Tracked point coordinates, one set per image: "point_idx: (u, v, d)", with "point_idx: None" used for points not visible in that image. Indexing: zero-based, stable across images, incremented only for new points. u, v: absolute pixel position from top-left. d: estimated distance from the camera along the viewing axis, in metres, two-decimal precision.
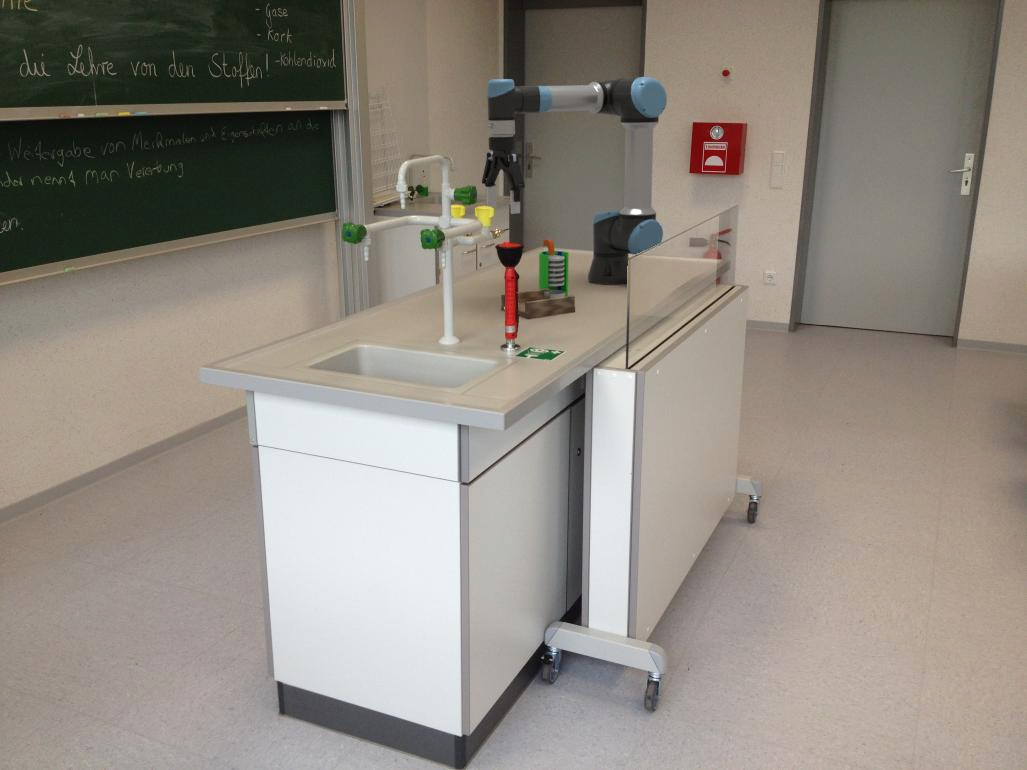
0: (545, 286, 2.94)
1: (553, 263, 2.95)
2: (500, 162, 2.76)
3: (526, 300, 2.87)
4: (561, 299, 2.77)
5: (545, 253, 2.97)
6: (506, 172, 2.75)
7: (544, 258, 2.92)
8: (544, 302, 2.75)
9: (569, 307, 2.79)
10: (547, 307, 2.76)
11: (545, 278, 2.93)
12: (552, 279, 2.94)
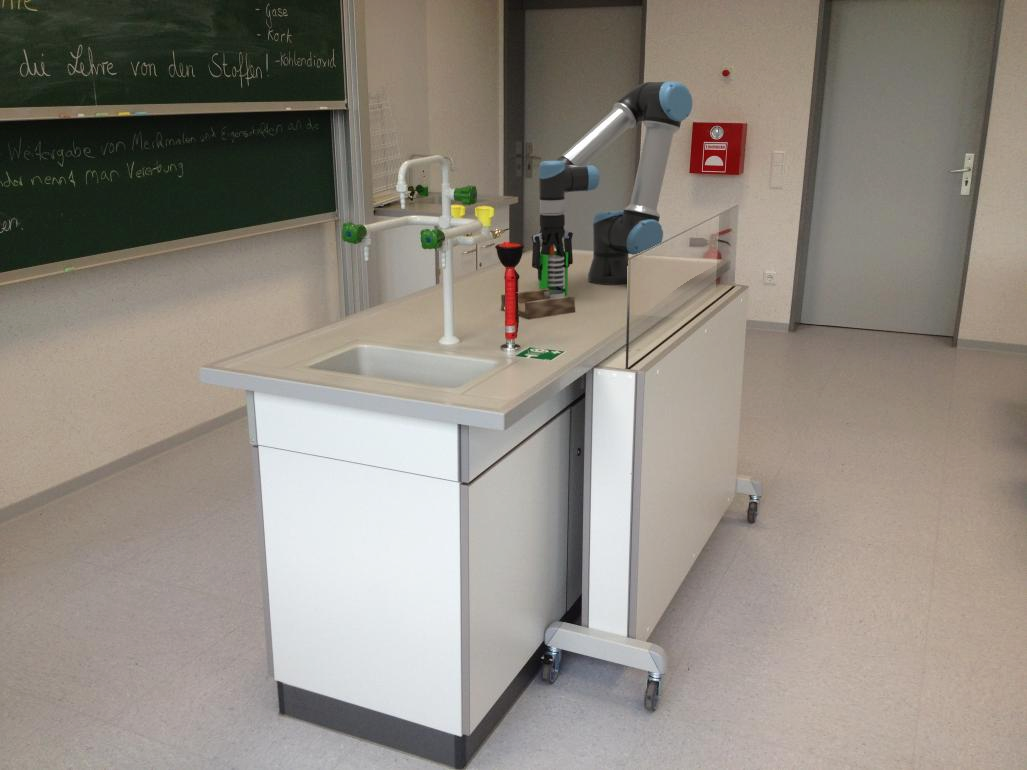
0: (545, 286, 2.94)
1: (553, 263, 2.95)
2: None
3: (526, 300, 2.87)
4: (561, 299, 2.77)
5: None
6: None
7: (544, 258, 2.92)
8: (544, 302, 2.75)
9: (569, 307, 2.79)
10: (547, 307, 2.76)
11: (545, 278, 2.93)
12: (552, 279, 2.94)
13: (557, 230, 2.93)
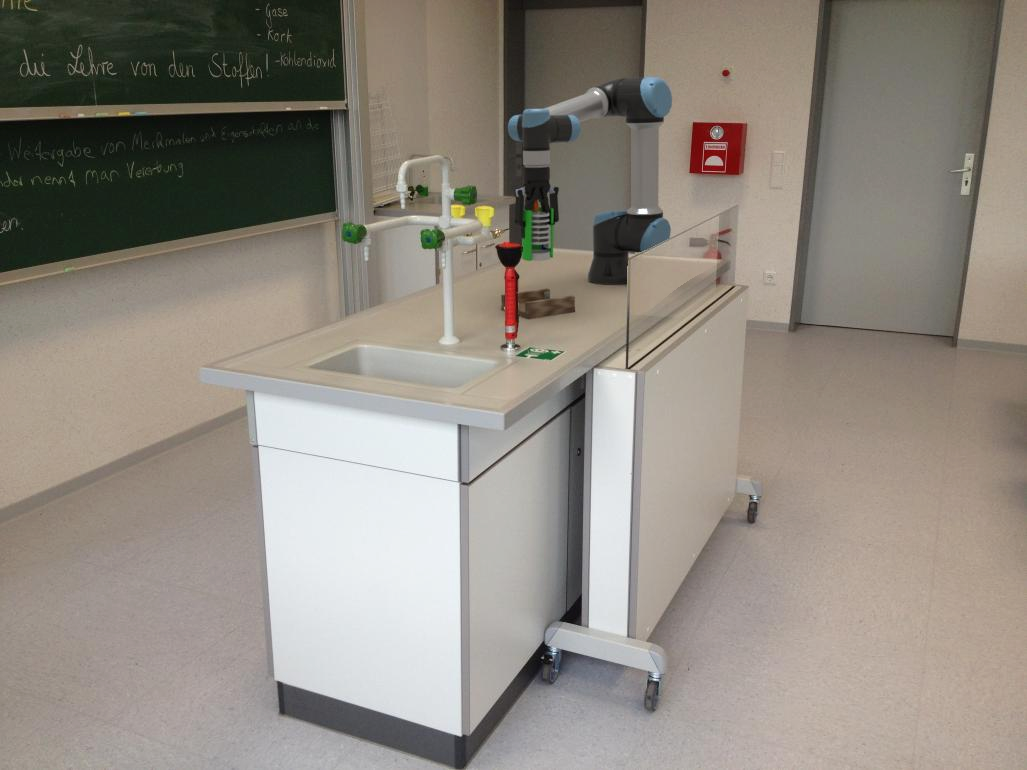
0: (528, 244, 2.73)
1: (537, 220, 2.74)
2: None
3: (526, 300, 2.87)
4: (561, 299, 2.77)
5: None
6: None
7: (527, 214, 2.71)
8: (544, 302, 2.75)
9: (569, 307, 2.79)
10: (547, 307, 2.76)
11: (528, 236, 2.72)
12: (536, 237, 2.73)
13: (542, 184, 2.72)
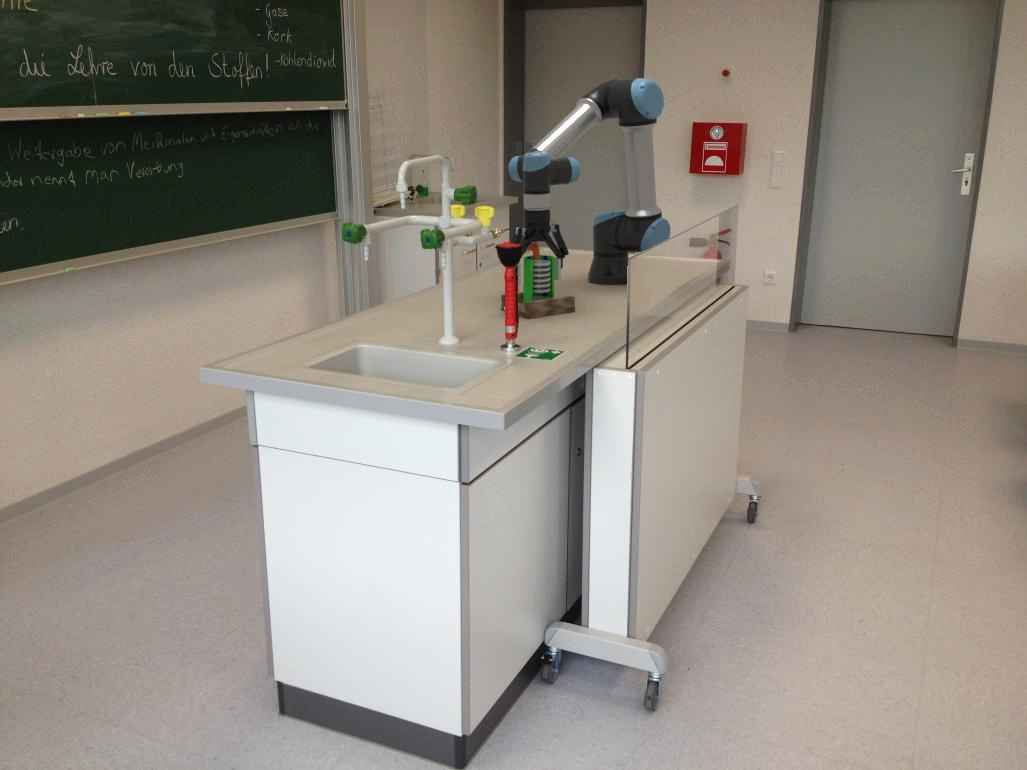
0: (530, 292, 2.77)
1: (538, 268, 2.79)
2: None
3: None
4: (561, 299, 2.77)
5: (530, 257, 2.81)
6: None
7: (528, 263, 2.75)
8: (544, 302, 2.75)
9: (569, 307, 2.79)
10: (547, 307, 2.76)
11: (530, 284, 2.77)
12: (537, 285, 2.77)
13: (542, 229, 2.76)
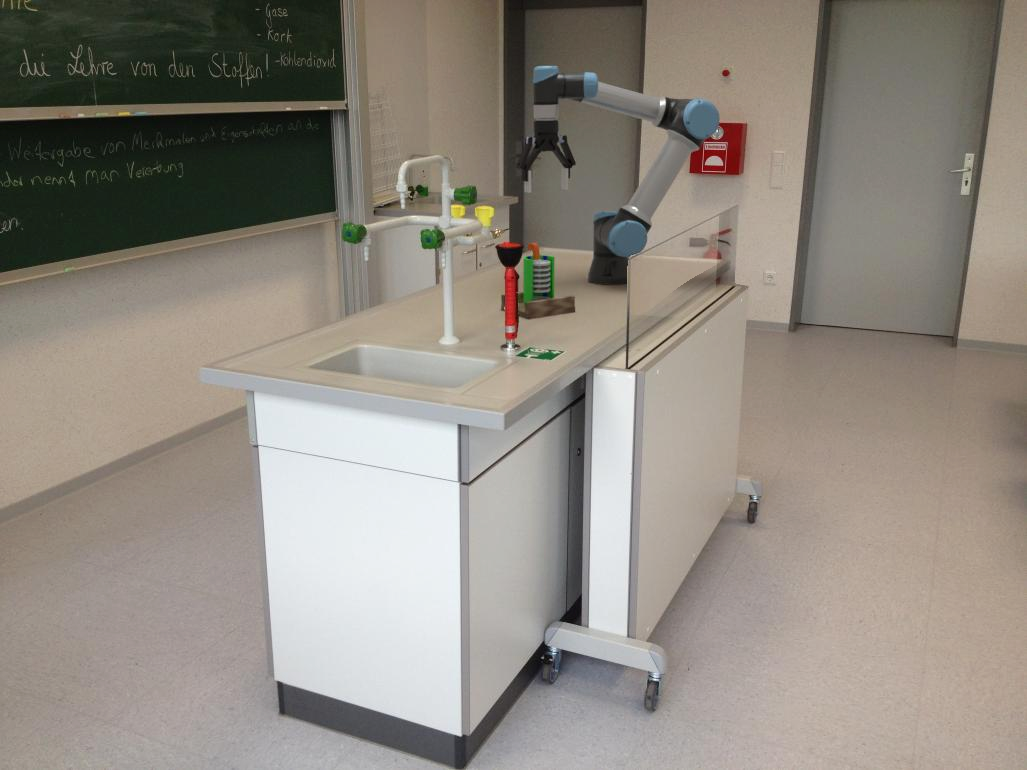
0: (530, 292, 2.77)
1: (538, 268, 2.79)
2: None
3: None
4: (561, 299, 2.77)
5: (530, 257, 2.81)
6: None
7: (528, 263, 2.75)
8: (544, 302, 2.75)
9: (569, 307, 2.79)
10: (547, 307, 2.76)
11: (530, 284, 2.77)
12: (537, 285, 2.77)
13: (551, 139, 2.94)
